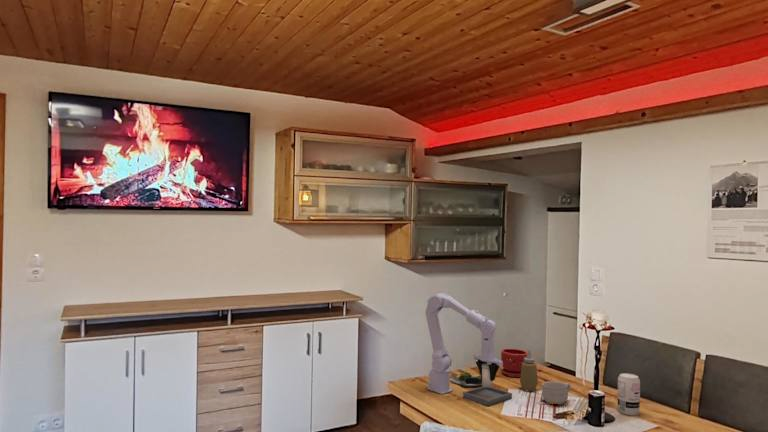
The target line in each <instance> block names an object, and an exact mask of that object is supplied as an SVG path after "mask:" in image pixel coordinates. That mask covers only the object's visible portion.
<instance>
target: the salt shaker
mask: <svg viewBox="0 0 768 432" xmlns="http://www.w3.org/2000/svg"><path fill="white" fill-rule="evenodd" d="M490 364H491V363H488V362H487V363H483V364H482V387H493V386H494V381H490V370H489V366H488V365H490Z"/></svg>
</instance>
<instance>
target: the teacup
mask: <svg viewBox="0 0 768 432" xmlns="http://www.w3.org/2000/svg"><path fill="white" fill-rule="evenodd" d="M571 387H572V386H571V384H570V383H568V382H565V383H564V382H560V381H543V382H542V383H541V392H542V393H541V394H542V398H543V400H544V401H545V402H546V403H547V404H549V403H550V405H553V404H552V403H556V404H558V405H557V406H559V405H563V404H565V402H567V401H568V397H569V392H570V391H571Z"/></svg>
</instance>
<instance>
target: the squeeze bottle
mask: <svg viewBox="0 0 768 432" xmlns="http://www.w3.org/2000/svg"><path fill="white" fill-rule="evenodd" d="M538 379H539V377H538V368H537V364H536V363H535V358H534V357H533V356H532V351H531V350H530V349H529V350H527V357H525V358H524V362H523V363H522V368H521V377H520V380H519V382H520V383H519V384H520V385H521V388H522V390H523V391H526V392H535V391H536V390H537V387H538V384H539V381H538Z"/></svg>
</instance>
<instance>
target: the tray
mask: <svg viewBox="0 0 768 432" xmlns="http://www.w3.org/2000/svg"><path fill="white" fill-rule="evenodd" d="M462 394H463V395H462V399H465V400H468V401H471V402H473V403H477V404H480V405H482V406H486V407H492V406H496V405H497V404H501V403H503V402H504V403H505V402H507V401H509V400H513V393H512V392H509V391H506V390H503V389H499V388H496V387H493V386H492V387H483V386H482V387H478V388H473V389H469V390H466V391H463V393H462Z"/></svg>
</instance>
